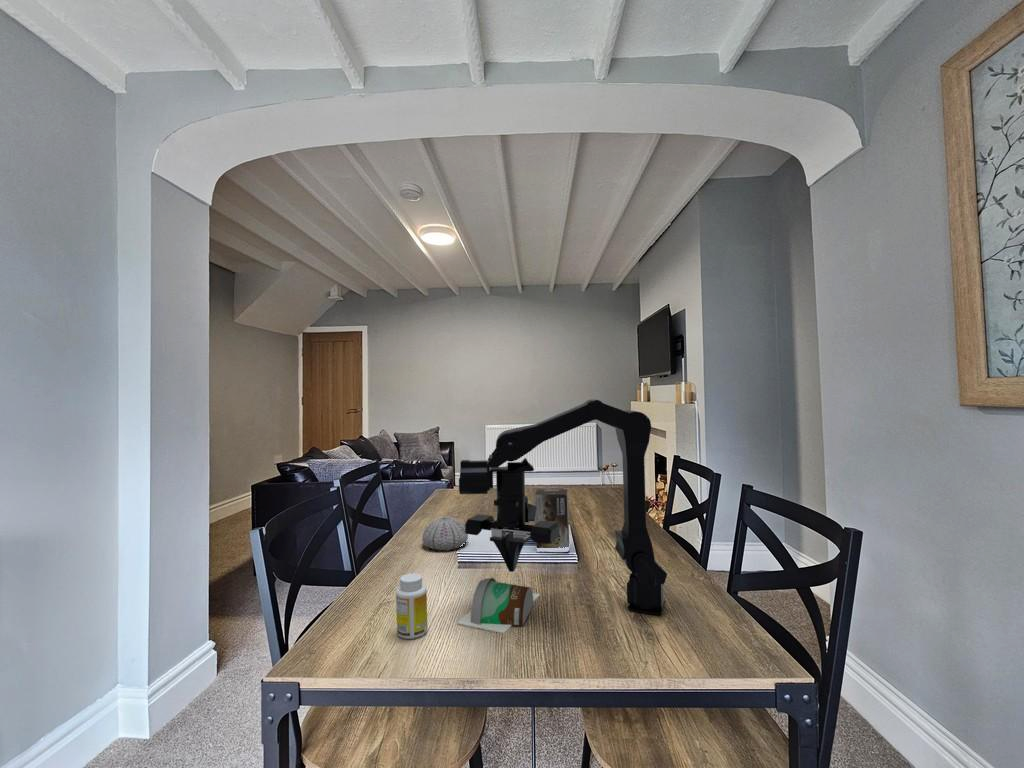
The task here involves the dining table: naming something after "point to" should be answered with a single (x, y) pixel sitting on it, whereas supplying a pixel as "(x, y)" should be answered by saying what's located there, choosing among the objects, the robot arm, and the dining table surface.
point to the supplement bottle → (411, 607)
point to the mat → (492, 627)
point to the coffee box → (553, 514)
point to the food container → (500, 603)
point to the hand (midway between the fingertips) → (512, 571)
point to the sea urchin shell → (444, 534)
